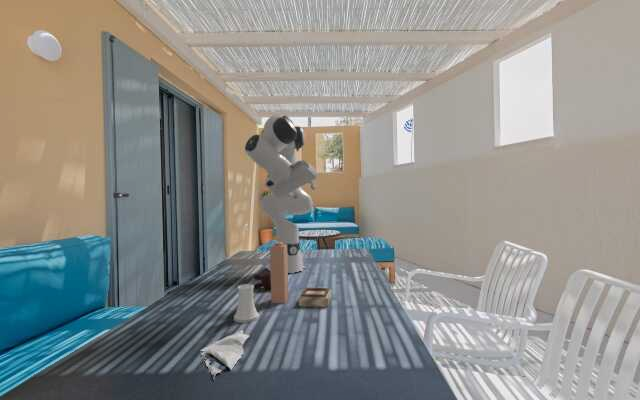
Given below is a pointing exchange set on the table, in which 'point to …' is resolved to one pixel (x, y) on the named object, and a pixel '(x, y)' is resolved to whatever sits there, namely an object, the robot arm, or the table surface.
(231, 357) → the cloth
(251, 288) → the vase
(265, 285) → the icecream
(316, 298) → the base
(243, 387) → the table surface
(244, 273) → the table surface
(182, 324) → the table surface
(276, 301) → the pillar
